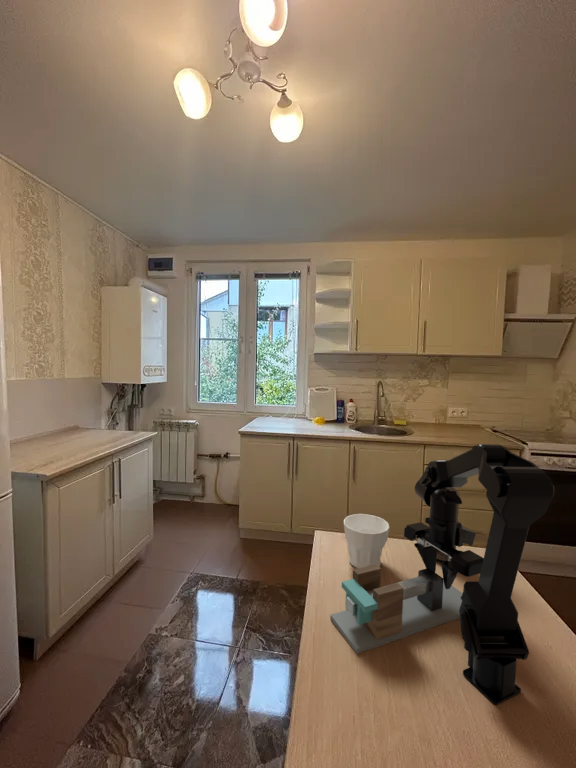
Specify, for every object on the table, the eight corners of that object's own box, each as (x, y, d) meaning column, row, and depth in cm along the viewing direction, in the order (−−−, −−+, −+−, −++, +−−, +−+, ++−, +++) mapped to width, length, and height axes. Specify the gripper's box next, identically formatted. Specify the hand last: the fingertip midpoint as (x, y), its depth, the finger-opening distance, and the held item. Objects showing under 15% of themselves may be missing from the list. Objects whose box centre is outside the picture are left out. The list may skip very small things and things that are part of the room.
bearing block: (401, 636, 72) (403, 587, 72) (376, 644, 70) (378, 594, 69) (374, 607, 81) (375, 564, 80) (351, 614, 78) (353, 569, 78)
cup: (338, 569, 95) (339, 529, 95) (346, 546, 107) (347, 510, 106) (386, 579, 91) (388, 537, 91) (389, 554, 103) (390, 517, 102)
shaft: (442, 608, 80) (443, 578, 79) (354, 637, 70) (356, 604, 70) (427, 596, 84) (428, 567, 83) (342, 622, 74) (343, 591, 74)
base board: (480, 610, 80) (481, 606, 80) (356, 654, 68) (356, 649, 68) (445, 584, 90) (445, 580, 90) (330, 619, 77) (330, 614, 77)
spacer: (377, 626, 70) (377, 603, 70) (364, 630, 69) (365, 606, 68) (353, 600, 78) (353, 578, 77) (341, 603, 77) (341, 581, 76)
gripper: (506, 528, 76) (502, 599, 76) (437, 497, 93) (434, 555, 94) (468, 537, 71) (464, 612, 72) (403, 502, 88) (401, 564, 89)
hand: (439, 582), depth 82 cm, fingers closed on shaft, 4 cm apart
